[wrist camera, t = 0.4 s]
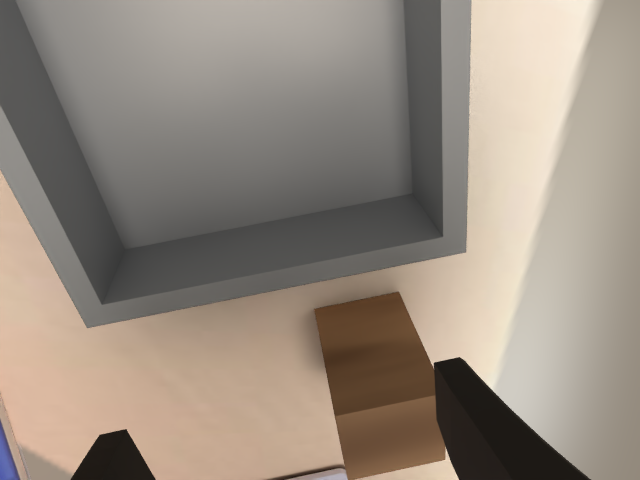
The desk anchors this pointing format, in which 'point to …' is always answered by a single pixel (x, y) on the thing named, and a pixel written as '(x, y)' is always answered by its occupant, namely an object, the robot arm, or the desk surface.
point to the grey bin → (233, 142)
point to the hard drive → (10, 452)
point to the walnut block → (379, 386)
